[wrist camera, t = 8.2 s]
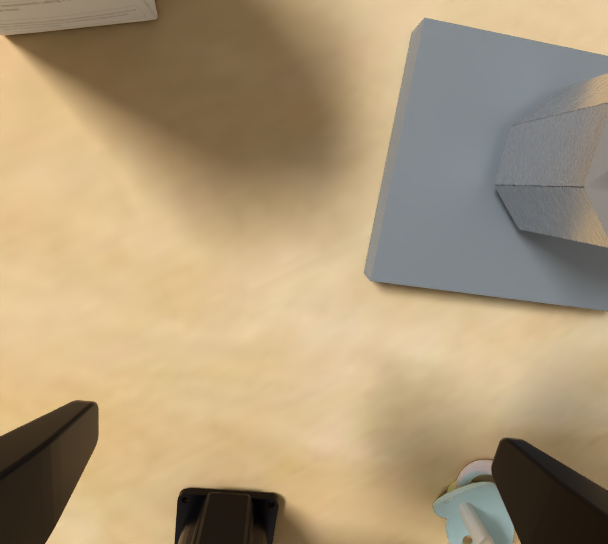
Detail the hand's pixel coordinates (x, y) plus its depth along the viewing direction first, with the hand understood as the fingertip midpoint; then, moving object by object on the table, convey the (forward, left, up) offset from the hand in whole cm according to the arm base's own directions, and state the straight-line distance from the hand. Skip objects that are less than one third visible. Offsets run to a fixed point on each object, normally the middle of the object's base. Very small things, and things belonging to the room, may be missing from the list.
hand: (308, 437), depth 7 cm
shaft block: (+7, -11, -12) cm, 18 cm away
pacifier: (-14, -15, -12) cm, 24 cm away
